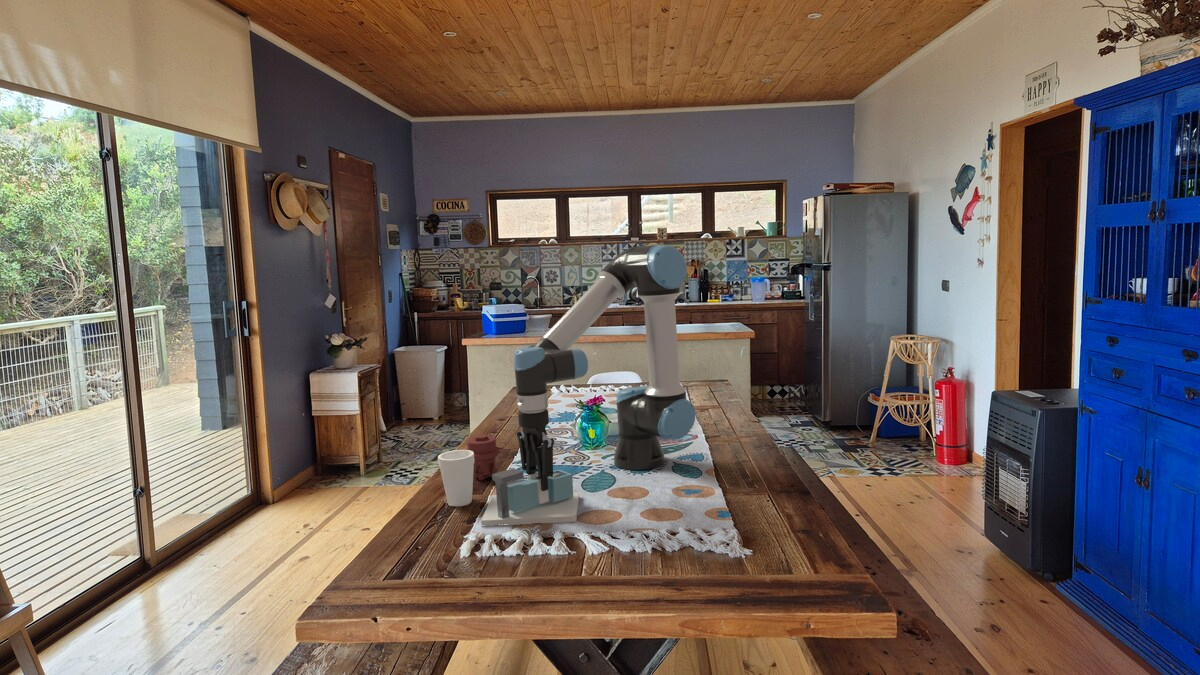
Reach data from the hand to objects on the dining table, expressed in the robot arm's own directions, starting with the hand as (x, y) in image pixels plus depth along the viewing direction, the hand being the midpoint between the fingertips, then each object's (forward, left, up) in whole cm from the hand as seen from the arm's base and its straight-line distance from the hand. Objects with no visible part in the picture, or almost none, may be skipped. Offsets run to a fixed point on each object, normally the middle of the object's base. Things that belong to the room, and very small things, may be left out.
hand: (539, 500), depth 183 cm
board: (+2, 0, -3) cm, 3 cm away
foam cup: (+22, -9, -3) cm, 24 cm away
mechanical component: (+19, -30, -3) cm, 36 cm away
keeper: (+7, +5, -3) cm, 9 cm away
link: (0, 0, -1) cm, 1 cm away
